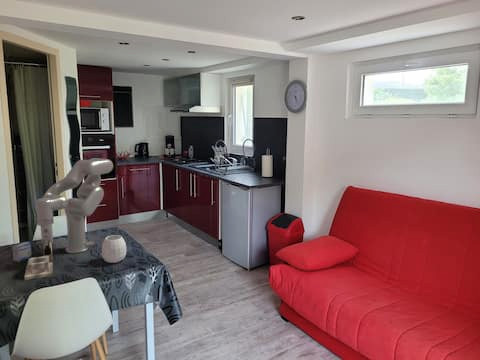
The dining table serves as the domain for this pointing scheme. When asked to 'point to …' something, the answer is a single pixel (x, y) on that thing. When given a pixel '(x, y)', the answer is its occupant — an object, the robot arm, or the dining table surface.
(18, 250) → the medicine box
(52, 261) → the peg
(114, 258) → the white faceted vase
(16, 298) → the dining table surface
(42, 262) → the socket stand
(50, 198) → the robot arm
